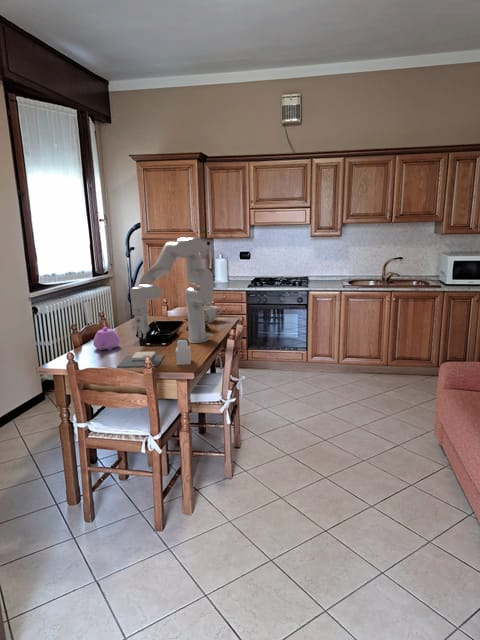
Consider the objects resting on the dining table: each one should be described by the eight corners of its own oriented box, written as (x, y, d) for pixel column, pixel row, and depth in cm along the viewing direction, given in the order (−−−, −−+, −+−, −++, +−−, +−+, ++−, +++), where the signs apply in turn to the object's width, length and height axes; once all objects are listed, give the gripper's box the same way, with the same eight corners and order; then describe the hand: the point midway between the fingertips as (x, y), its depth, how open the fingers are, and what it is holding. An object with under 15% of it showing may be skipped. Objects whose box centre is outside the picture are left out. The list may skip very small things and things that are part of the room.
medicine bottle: (177, 360, 223) (175, 337, 221) (191, 359, 224) (189, 337, 221) (176, 365, 216) (174, 341, 214) (190, 364, 217) (189, 340, 214)
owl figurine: (180, 331, 283) (179, 304, 279) (190, 326, 293) (188, 301, 290) (205, 333, 275) (203, 306, 272) (214, 328, 286) (213, 302, 282)
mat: (164, 355, 232) (164, 354, 232) (157, 366, 215) (157, 365, 215) (126, 356, 233) (126, 355, 232) (117, 367, 216) (117, 366, 216)
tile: (155, 351, 233) (151, 357, 223) (155, 354, 233) (151, 360, 223) (136, 351, 233) (131, 357, 223) (136, 354, 234) (131, 360, 224)
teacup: (221, 323, 300) (221, 308, 297) (199, 323, 300) (199, 309, 298) (222, 319, 311) (222, 305, 309) (201, 319, 312) (200, 305, 309)
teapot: (111, 354, 238) (109, 332, 236) (86, 354, 240) (83, 332, 238) (125, 343, 258) (123, 323, 255) (102, 343, 260) (99, 323, 257)
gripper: (143, 314, 217) (147, 349, 221) (150, 307, 231) (153, 341, 235) (128, 314, 217) (132, 350, 221) (136, 308, 231) (139, 342, 236)
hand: (143, 345), depth 228 cm, fingers closed
